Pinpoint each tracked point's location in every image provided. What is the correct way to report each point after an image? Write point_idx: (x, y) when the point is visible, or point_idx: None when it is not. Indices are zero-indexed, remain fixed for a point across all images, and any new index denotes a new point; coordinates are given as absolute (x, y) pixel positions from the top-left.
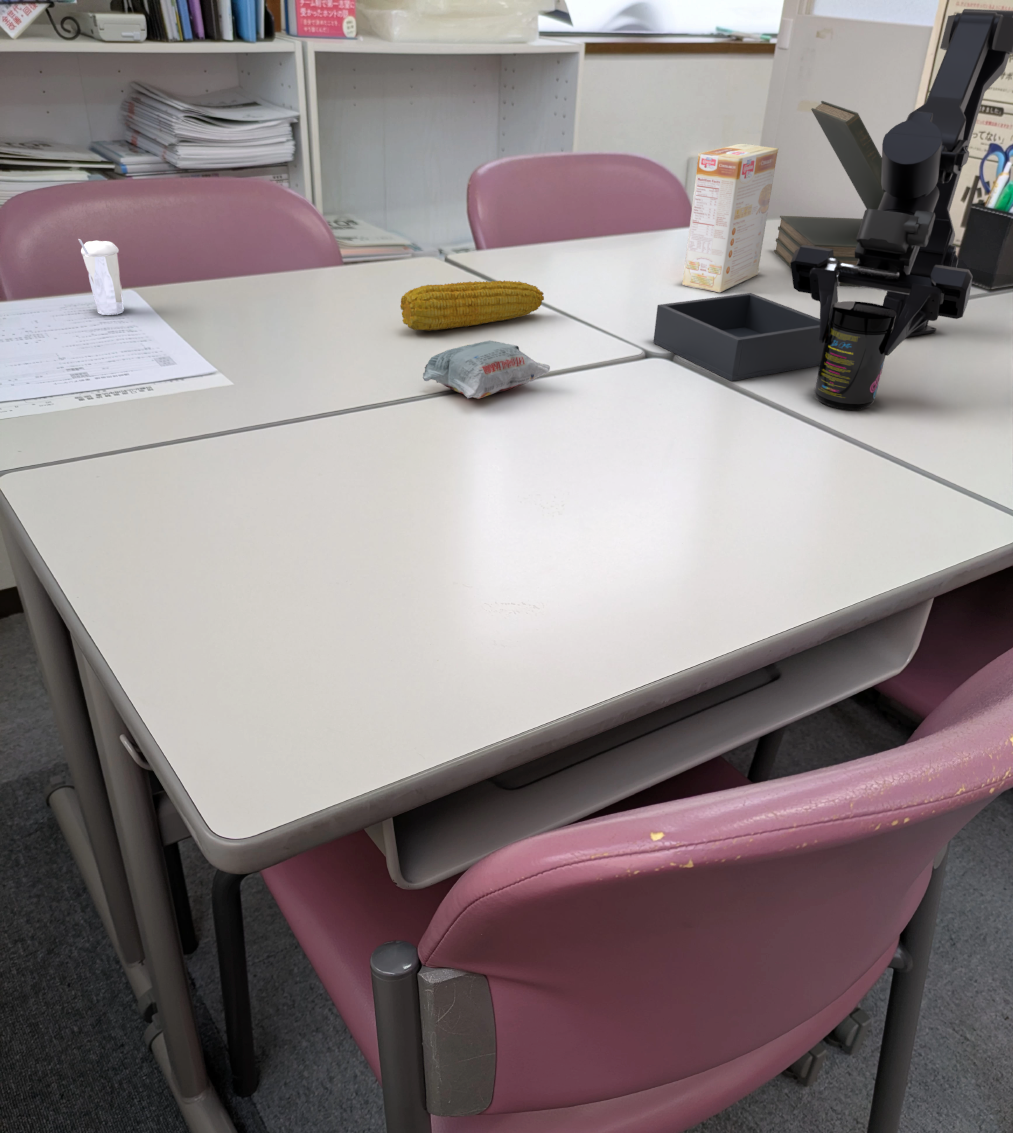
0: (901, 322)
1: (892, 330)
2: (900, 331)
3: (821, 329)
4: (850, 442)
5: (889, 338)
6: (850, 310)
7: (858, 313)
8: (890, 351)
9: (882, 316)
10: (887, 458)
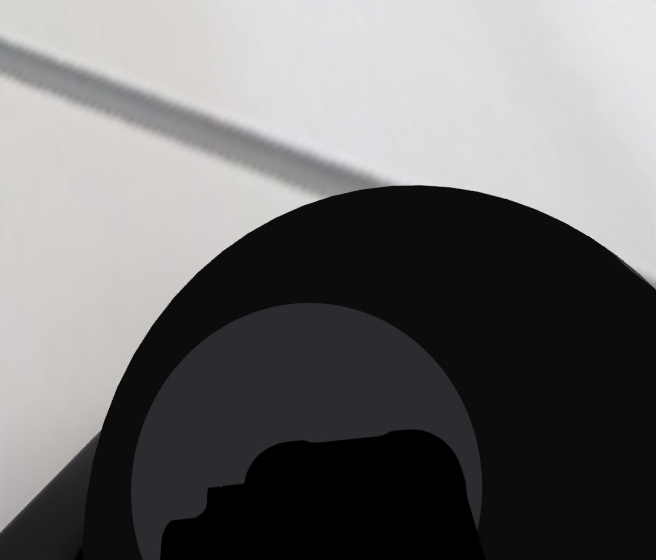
0: (28, 552)
1: None
2: (45, 497)
3: None
4: (190, 114)
5: None
6: (533, 370)
7: (431, 319)
8: None
9: (202, 383)
10: (64, 71)
